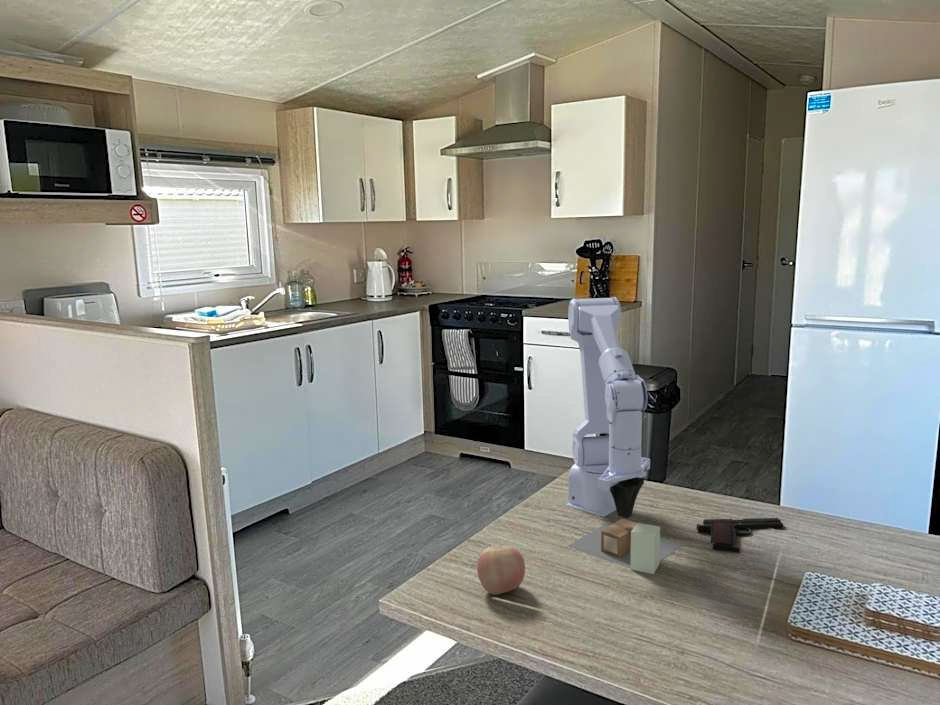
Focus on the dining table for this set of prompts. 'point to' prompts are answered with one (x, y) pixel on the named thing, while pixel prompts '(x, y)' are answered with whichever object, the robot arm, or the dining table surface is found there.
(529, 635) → the dining table surface
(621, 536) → the walnut block
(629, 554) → the mat
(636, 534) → the sage block
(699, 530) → the handgun
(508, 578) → the apple
